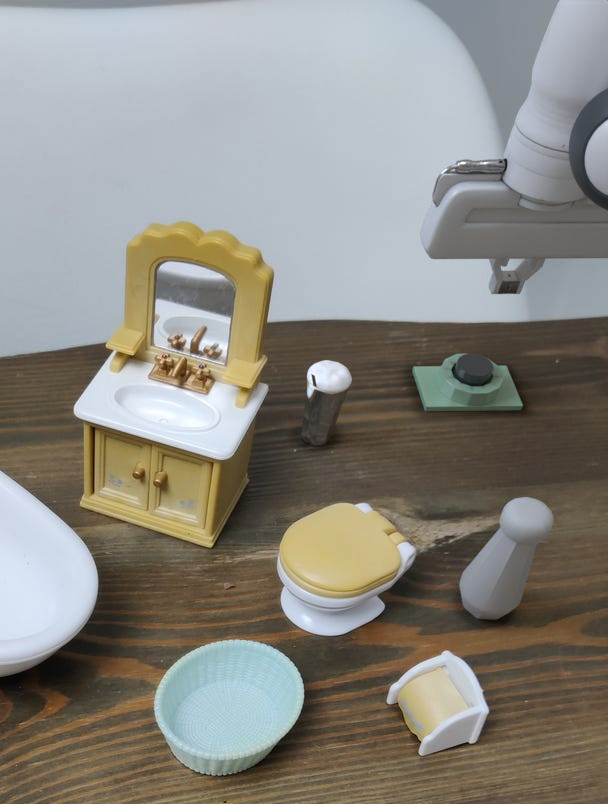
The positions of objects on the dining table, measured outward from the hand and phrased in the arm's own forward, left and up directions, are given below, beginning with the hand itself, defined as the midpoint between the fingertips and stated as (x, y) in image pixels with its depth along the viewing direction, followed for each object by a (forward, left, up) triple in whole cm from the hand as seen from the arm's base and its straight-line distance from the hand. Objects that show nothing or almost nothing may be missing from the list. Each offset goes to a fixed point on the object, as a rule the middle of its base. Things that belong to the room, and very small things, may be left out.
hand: (503, 290), depth 102 cm
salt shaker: (-19, +25, -13) cm, 34 cm away
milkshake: (+7, +19, -13) cm, 24 cm away
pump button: (0, 0, -11) cm, 11 cm away
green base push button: (0, 0, -13) cm, 13 cm away
